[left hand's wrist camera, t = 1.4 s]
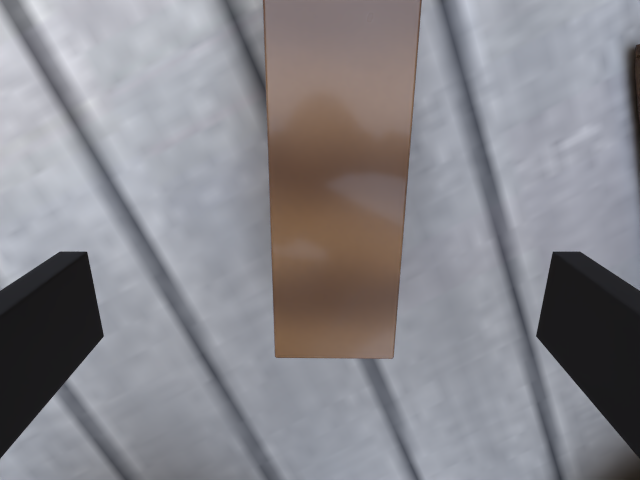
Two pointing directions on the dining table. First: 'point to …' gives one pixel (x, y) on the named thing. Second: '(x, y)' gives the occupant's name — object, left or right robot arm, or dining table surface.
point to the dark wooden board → (638, 76)
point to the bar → (338, 170)
